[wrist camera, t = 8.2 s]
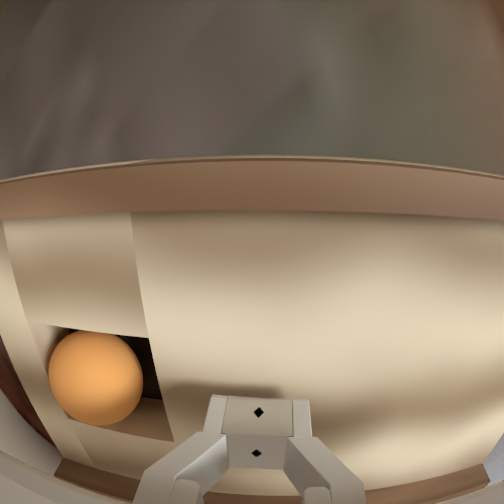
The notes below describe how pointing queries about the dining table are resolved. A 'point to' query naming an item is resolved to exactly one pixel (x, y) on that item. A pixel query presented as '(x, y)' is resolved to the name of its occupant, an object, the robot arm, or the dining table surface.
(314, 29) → the dining table surface
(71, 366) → the ball
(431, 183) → the beige tray
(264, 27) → the dining table surface
